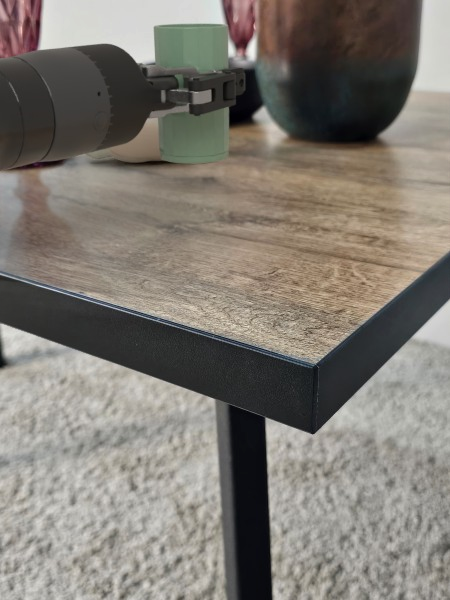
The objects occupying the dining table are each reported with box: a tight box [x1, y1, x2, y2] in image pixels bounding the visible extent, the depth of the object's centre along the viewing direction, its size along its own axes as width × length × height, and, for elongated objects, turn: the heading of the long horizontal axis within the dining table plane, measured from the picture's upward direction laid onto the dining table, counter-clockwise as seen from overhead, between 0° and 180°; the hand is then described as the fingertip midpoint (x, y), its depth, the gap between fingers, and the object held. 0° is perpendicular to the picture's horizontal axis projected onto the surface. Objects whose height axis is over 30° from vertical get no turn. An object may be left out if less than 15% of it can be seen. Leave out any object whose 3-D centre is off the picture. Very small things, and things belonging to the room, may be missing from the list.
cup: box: [153, 23, 230, 165], centre depth 64 cm, size 6×6×11 cm
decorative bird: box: [85, 118, 166, 164], centre depth 87 cm, size 9×16×8 cm, turn 97°
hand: (208, 78), depth 66 cm, fingers closed on cup, 6 cm apart
